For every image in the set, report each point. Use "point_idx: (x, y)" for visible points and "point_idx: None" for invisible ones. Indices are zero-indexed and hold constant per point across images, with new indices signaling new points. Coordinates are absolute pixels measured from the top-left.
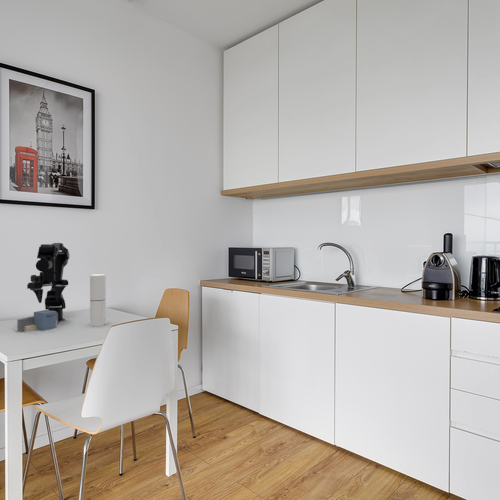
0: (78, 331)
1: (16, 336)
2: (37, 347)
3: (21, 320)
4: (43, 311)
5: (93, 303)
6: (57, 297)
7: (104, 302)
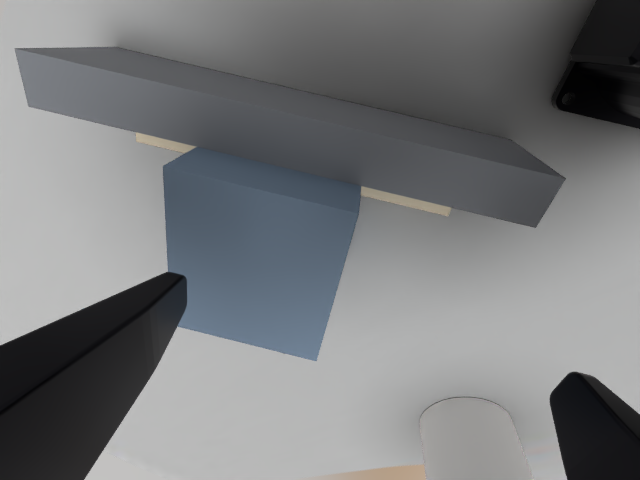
0: (288, 403)
1: (37, 178)
2: None
3: (53, 108)
4: (251, 255)
5: None
6: (577, 464)
7: None
